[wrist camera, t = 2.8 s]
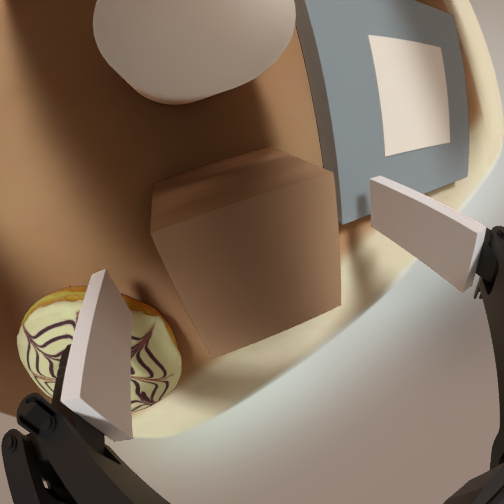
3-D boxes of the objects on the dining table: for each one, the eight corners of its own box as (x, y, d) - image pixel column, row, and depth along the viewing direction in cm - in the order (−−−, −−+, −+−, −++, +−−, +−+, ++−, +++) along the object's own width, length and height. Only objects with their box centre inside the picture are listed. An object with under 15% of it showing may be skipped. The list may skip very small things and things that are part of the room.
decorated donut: (179, 382, 20) (187, 422, 17) (55, 382, 16) (50, 420, 13) (175, 272, 15) (183, 316, 12) (11, 274, 12) (-13, 313, 9)
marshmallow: (137, 121, 11) (117, 126, 6) (111, 21, 8) (83, -33, 3) (251, 88, 12) (313, 76, 7) (225, -7, 9) (271, -66, 4)
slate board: (328, 215, 17) (343, 225, 15) (284, -13, 9) (298, -24, 8) (454, 171, 19) (468, 177, 17) (438, 16, 11) (453, 15, 10)
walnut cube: (191, 280, 16) (212, 358, 11) (153, 183, 13) (150, 233, 8) (286, 244, 17) (341, 304, 12) (267, 146, 14) (333, 172, 9)
